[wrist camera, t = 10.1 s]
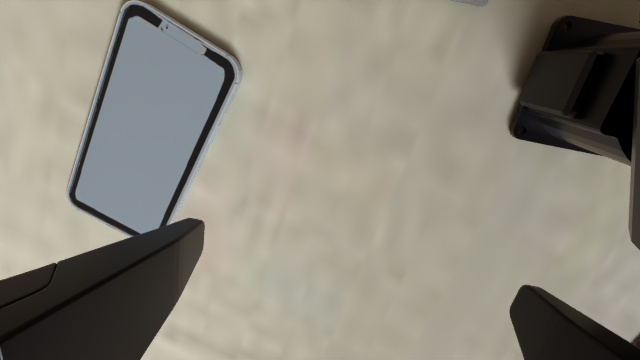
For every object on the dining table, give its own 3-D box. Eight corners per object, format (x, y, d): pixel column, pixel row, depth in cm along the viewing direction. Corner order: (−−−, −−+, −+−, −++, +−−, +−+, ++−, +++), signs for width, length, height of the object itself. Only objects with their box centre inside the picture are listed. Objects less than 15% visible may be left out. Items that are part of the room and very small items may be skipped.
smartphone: (62, 201, 23) (124, -9, 17) (73, 196, 24) (135, -7, 18) (157, 252, 24) (245, 66, 18) (164, 244, 24) (250, 65, 19)
